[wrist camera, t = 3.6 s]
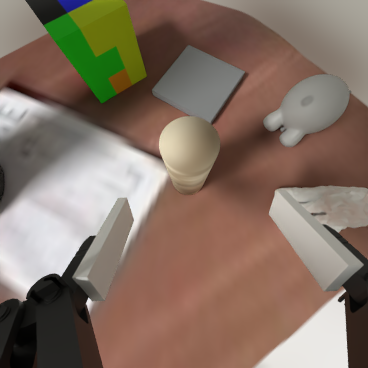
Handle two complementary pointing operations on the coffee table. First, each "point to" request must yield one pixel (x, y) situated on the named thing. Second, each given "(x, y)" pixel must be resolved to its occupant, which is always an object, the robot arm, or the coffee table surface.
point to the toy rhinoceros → (309, 108)
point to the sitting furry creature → (334, 205)
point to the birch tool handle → (189, 152)
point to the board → (198, 84)
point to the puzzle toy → (95, 41)
